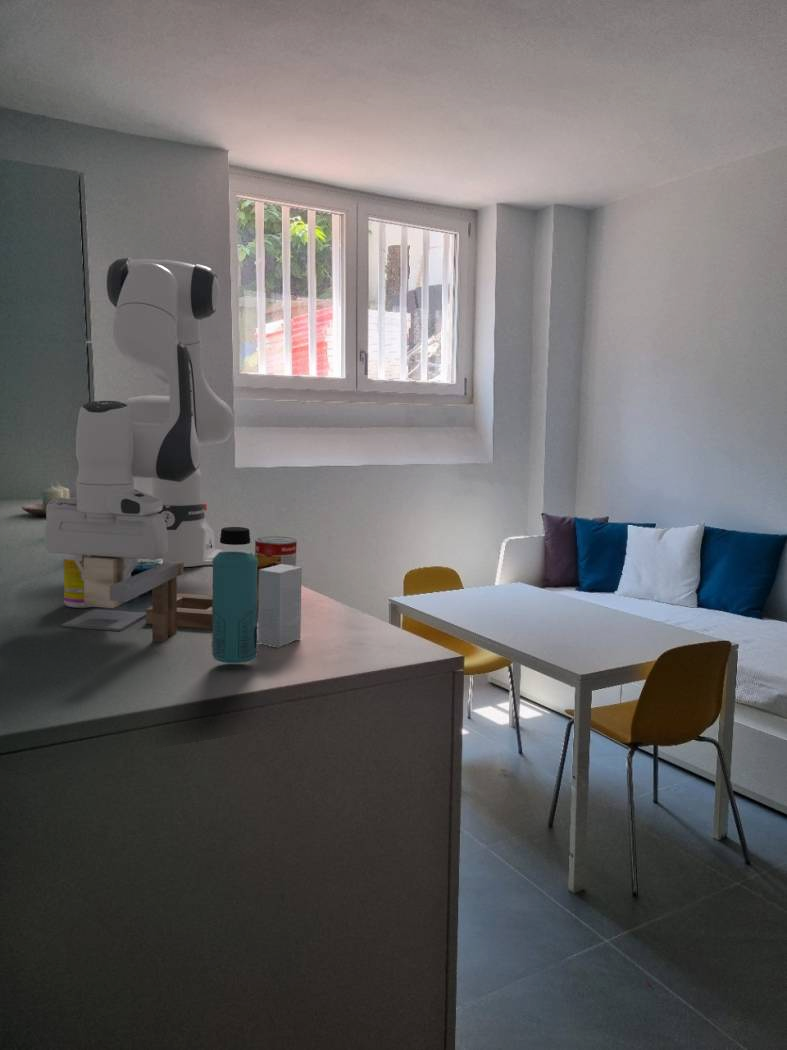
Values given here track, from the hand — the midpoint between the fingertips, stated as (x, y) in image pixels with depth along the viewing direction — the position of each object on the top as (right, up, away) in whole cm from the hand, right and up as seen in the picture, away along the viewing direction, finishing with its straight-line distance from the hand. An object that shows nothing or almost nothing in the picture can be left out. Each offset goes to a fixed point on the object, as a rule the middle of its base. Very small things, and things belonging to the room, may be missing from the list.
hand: (106, 582), depth 124 cm
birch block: (0, -4, 0) cm, 4 cm away
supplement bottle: (-8, -5, +11) cm, 15 cm away
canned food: (+25, -5, +20) cm, 33 cm away
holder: (+13, -7, +1) cm, 15 cm away
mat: (0, -7, +1) cm, 7 cm away
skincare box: (+30, -9, -6) cm, 32 cm away
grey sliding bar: (+12, 0, -14) cm, 18 cm away
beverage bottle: (+25, -11, -19) cm, 33 cm away
